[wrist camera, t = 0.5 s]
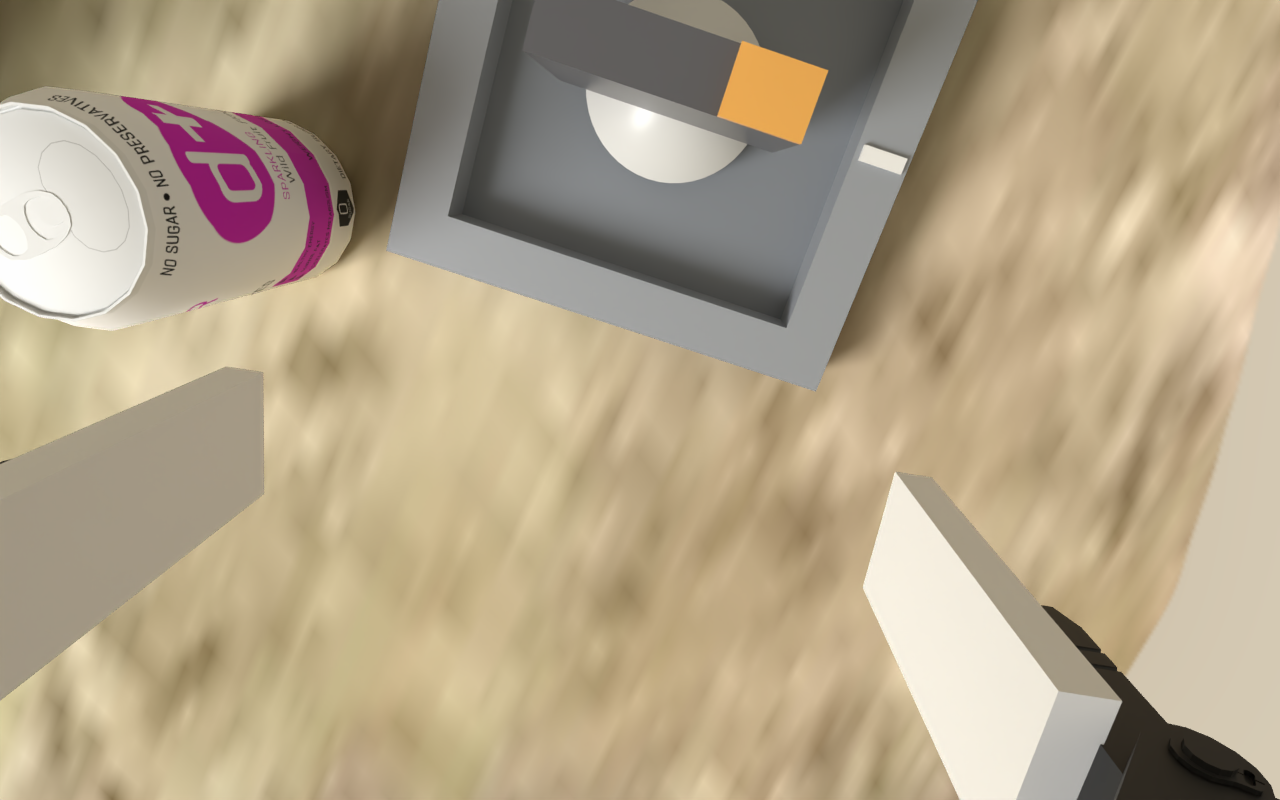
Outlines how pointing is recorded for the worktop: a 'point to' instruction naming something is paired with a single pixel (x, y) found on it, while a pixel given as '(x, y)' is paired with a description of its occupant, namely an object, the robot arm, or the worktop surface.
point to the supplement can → (158, 206)
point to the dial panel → (674, 212)
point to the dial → (674, 81)
